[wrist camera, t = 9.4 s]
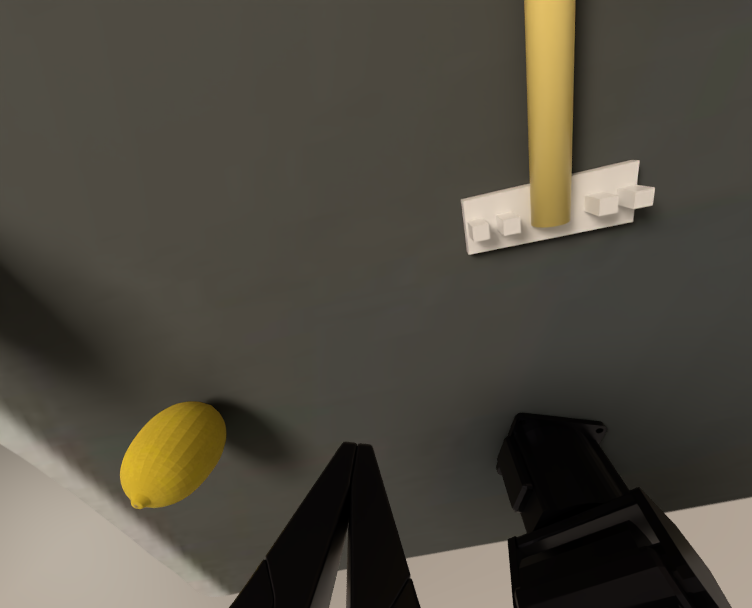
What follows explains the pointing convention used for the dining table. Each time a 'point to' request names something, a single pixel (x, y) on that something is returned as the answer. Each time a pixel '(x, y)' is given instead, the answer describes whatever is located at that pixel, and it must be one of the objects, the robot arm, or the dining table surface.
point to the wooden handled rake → (552, 154)
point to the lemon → (173, 454)
